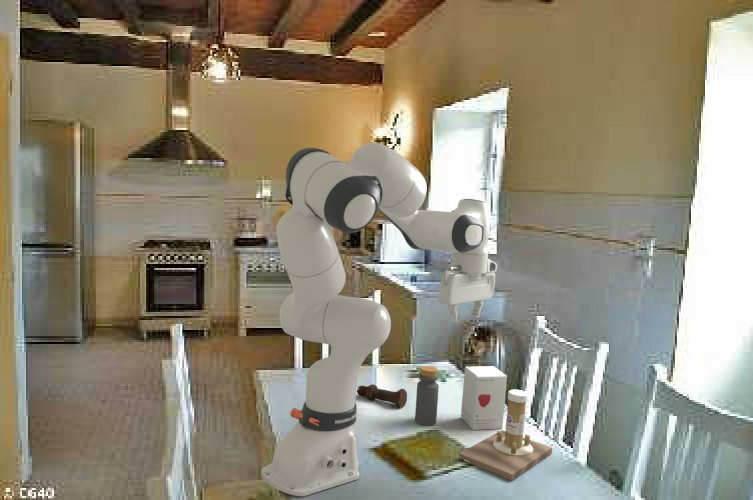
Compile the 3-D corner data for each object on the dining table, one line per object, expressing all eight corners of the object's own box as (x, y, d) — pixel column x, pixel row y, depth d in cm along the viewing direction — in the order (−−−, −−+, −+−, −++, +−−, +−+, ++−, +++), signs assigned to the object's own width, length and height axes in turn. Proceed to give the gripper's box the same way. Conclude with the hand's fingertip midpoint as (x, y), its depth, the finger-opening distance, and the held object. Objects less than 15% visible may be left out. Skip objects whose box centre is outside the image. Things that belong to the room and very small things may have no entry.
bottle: (435, 427, 157) (438, 372, 155) (413, 424, 158) (416, 370, 157) (437, 419, 163) (440, 366, 161) (416, 416, 164) (419, 364, 162)
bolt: (359, 401, 178) (404, 411, 171) (352, 397, 174) (397, 407, 167) (364, 382, 180) (409, 391, 173) (357, 378, 176) (402, 387, 169)
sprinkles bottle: (500, 443, 145) (504, 391, 143) (510, 439, 148) (515, 387, 146) (516, 450, 141) (520, 396, 140) (526, 445, 145) (531, 392, 143)
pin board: (512, 480, 130) (513, 463, 129) (459, 459, 139) (460, 443, 139) (551, 453, 145) (553, 438, 144) (501, 435, 154) (502, 420, 153)
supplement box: (472, 430, 156) (476, 376, 154) (460, 417, 165) (463, 365, 163) (503, 429, 158) (508, 375, 157) (489, 416, 167) (493, 365, 165)
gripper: (456, 268, 136) (451, 326, 138) (500, 264, 152) (496, 317, 153) (434, 264, 140) (430, 321, 142) (479, 261, 156) (475, 312, 157)
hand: (464, 319), depth 147 cm, fingers open, 8 cm apart
